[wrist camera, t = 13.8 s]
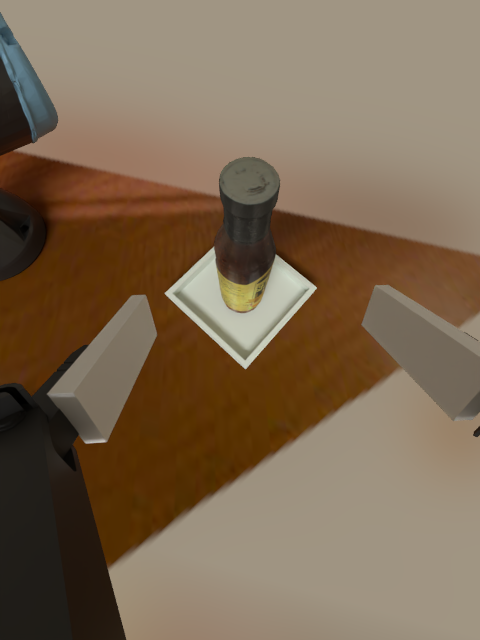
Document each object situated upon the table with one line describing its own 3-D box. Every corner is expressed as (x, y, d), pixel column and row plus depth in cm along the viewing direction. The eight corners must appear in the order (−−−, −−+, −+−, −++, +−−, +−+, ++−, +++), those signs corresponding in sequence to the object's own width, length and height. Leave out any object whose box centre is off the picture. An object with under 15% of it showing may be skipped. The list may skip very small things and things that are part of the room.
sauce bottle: (259, 317, 32) (295, 235, 13) (218, 312, 32) (192, 222, 13) (264, 277, 34) (301, 150, 14) (224, 272, 34) (209, 139, 14)
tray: (169, 298, 34) (164, 293, 31) (238, 233, 36) (238, 223, 34) (244, 368, 31) (245, 368, 29) (311, 293, 34) (317, 287, 32)
